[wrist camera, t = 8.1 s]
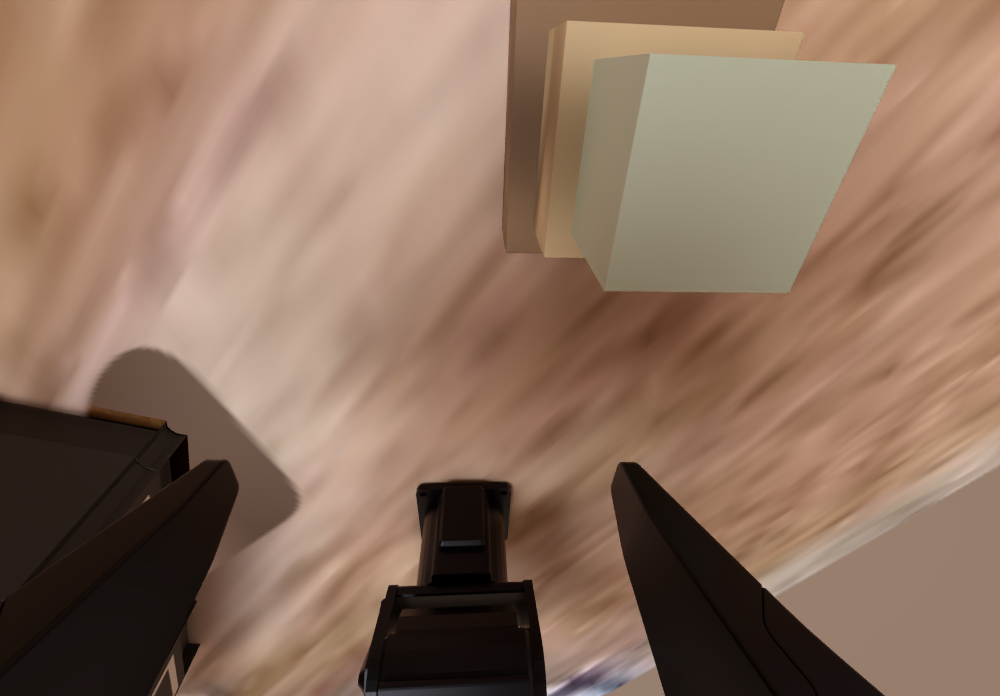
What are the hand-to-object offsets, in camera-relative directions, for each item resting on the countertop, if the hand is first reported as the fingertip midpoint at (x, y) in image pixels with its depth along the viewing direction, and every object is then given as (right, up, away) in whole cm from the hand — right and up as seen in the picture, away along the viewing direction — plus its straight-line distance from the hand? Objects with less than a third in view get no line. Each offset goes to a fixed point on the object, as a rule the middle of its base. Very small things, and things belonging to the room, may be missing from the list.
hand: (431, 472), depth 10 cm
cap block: (+6, +8, +2) cm, 11 cm away
